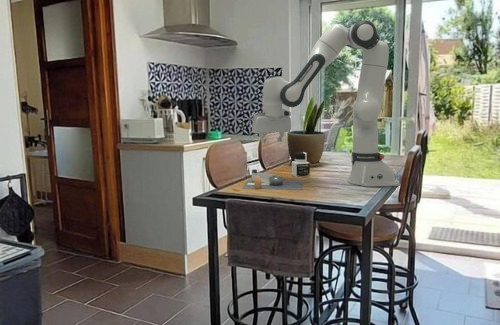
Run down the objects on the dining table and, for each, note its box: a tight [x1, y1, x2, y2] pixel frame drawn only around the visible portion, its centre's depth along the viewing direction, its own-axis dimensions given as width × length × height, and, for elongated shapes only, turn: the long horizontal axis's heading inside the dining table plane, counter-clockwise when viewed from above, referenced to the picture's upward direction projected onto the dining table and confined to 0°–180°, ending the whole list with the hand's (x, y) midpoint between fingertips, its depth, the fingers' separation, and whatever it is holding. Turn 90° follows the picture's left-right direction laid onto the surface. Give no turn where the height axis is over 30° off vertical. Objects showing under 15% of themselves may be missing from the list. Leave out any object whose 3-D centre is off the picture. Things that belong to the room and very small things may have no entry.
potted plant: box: [287, 95, 326, 168], centre depth 245 cm, size 21×22×40 cm
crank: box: [251, 169, 284, 185], centre depth 195 cm, size 16×6×5 cm, turn 51°
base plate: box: [241, 176, 304, 191], centre depth 192 cm, size 26×20×6 cm
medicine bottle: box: [291, 152, 311, 178], centre depth 216 cm, size 7×7×12 cm
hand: (271, 142), depth 198 cm, fingers open, 8 cm apart
